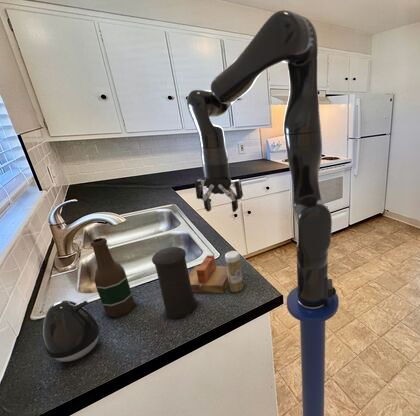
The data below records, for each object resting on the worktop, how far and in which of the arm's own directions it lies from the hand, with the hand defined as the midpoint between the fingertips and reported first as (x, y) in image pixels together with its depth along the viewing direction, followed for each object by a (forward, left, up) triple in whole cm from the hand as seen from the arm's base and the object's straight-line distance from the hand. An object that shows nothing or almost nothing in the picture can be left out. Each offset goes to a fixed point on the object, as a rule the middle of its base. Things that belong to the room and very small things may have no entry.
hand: (222, 210), depth 87 cm
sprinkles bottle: (-4, +6, -26) cm, 27 cm away
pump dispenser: (+29, +32, -26) cm, 51 cm away
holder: (+7, +3, -23) cm, 24 cm away
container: (+10, +16, -26) cm, 33 cm away
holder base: (+7, +3, -26) cm, 27 cm away
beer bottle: (+29, +17, -26) cm, 43 cm away
